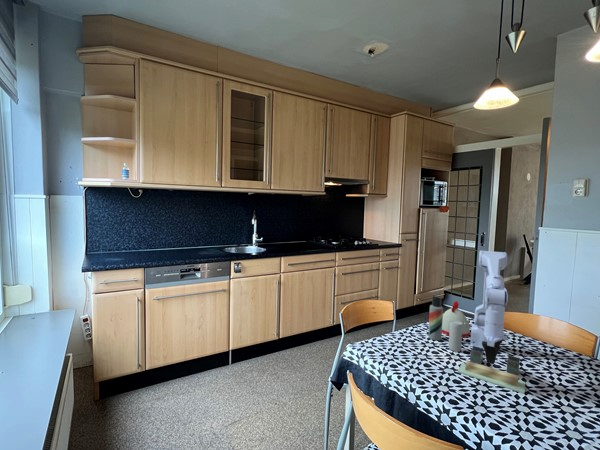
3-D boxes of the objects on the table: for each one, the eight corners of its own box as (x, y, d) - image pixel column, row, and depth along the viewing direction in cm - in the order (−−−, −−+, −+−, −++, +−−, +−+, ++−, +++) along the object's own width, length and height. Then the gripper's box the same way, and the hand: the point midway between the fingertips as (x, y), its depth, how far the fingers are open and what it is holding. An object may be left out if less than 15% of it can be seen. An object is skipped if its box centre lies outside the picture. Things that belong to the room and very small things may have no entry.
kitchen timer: (472, 332, 153) (474, 302, 152) (464, 340, 143) (466, 308, 142) (443, 324, 163) (445, 296, 162) (434, 331, 153) (435, 301, 152)
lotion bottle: (425, 335, 147) (428, 294, 146) (437, 335, 147) (439, 294, 146) (432, 340, 141) (434, 297, 140) (443, 340, 142) (446, 298, 140)
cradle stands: (469, 362, 121) (470, 349, 121) (472, 358, 125) (472, 345, 125) (518, 377, 112) (519, 363, 111) (518, 371, 116) (519, 358, 115)
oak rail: (465, 370, 114) (465, 363, 114) (466, 367, 117) (467, 360, 117) (517, 386, 104) (518, 379, 104) (518, 382, 107) (518, 376, 107)
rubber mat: (457, 372, 114) (457, 371, 114) (462, 364, 120) (462, 362, 120) (524, 393, 101) (524, 392, 101) (525, 383, 108) (525, 382, 108)
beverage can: (462, 353, 130) (464, 325, 129) (450, 351, 131) (452, 323, 130) (459, 348, 134) (460, 321, 134) (447, 346, 135) (448, 320, 135)
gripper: (505, 331, 101) (503, 371, 102) (509, 319, 113) (506, 355, 114) (481, 325, 106) (478, 363, 106) (487, 314, 117) (484, 349, 118)
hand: (491, 359), depth 110 cm, fingers open, 7 cm apart
